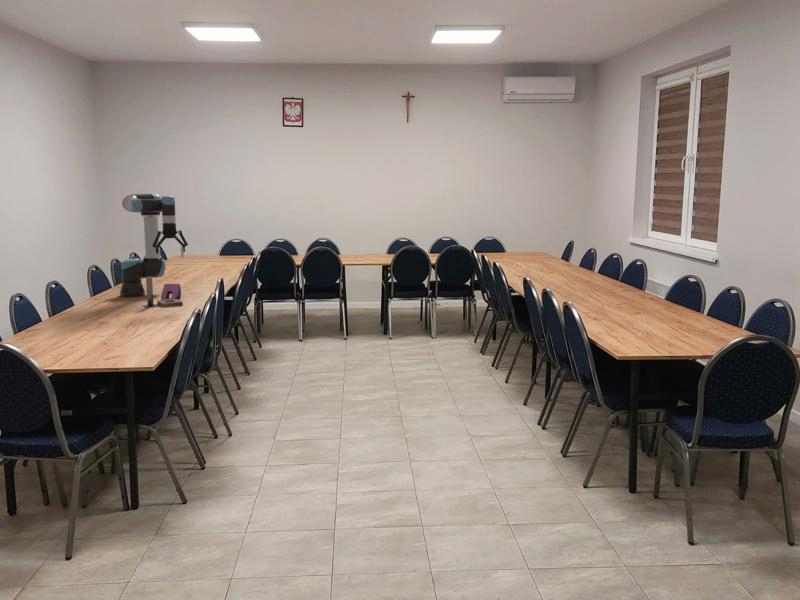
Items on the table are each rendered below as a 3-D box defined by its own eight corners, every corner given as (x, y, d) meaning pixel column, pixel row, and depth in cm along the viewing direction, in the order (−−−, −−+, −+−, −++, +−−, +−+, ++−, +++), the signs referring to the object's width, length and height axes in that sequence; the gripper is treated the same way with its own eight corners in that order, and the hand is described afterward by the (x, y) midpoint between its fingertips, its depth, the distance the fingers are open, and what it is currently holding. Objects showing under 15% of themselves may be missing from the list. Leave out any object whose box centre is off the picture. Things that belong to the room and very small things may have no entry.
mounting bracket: (177, 311, 447) (181, 294, 461) (175, 300, 442) (180, 283, 457) (161, 311, 446) (166, 294, 460) (159, 300, 441) (164, 283, 456)
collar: (157, 304, 435) (157, 300, 435) (177, 303, 441) (177, 299, 441) (162, 307, 425) (161, 303, 425) (182, 306, 431) (182, 301, 431)
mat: (141, 306, 430) (141, 305, 430) (155, 304, 435) (155, 304, 435) (145, 308, 422) (145, 308, 422) (159, 307, 426) (159, 306, 426)
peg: (146, 305, 429) (145, 277, 426) (152, 305, 431) (151, 277, 428) (148, 306, 426) (146, 278, 423) (154, 306, 428) (152, 277, 425)
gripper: (148, 223, 418) (150, 260, 422) (192, 222, 431) (193, 257, 435) (145, 222, 424) (147, 258, 428) (188, 221, 437) (190, 256, 441)
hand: (170, 258), depth 431 cm, fingers open, 13 cm apart
